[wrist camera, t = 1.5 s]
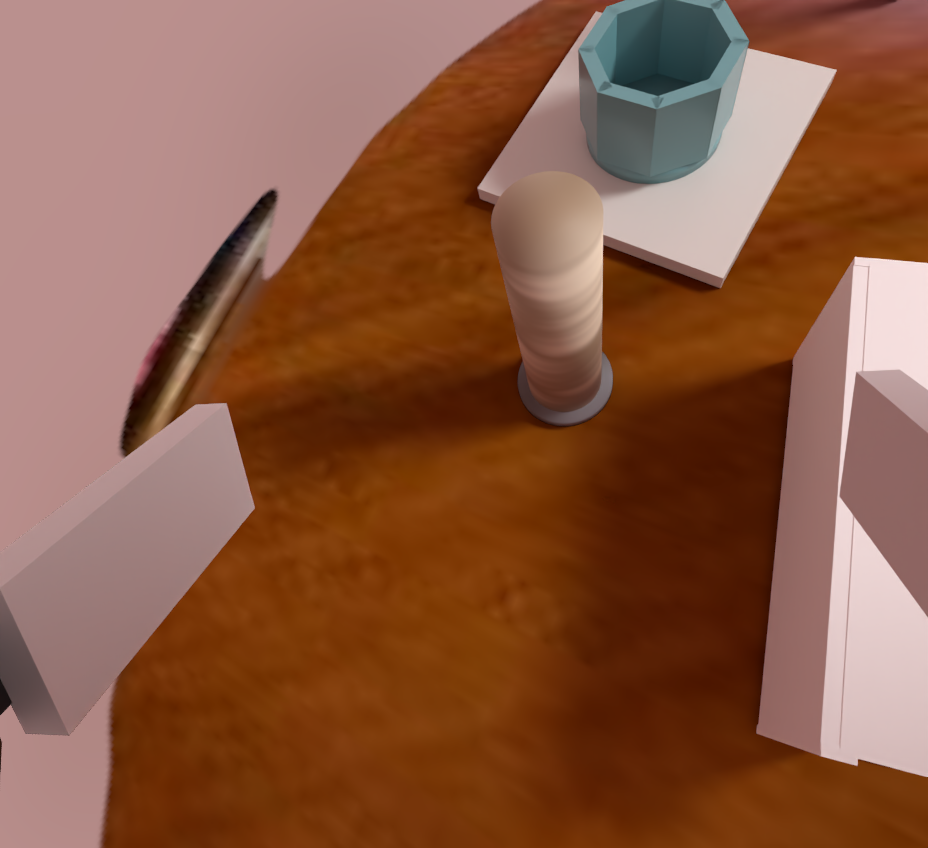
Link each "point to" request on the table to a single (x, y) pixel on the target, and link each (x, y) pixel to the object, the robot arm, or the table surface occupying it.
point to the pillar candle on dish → (555, 293)
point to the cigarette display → (845, 545)
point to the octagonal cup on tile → (668, 130)
